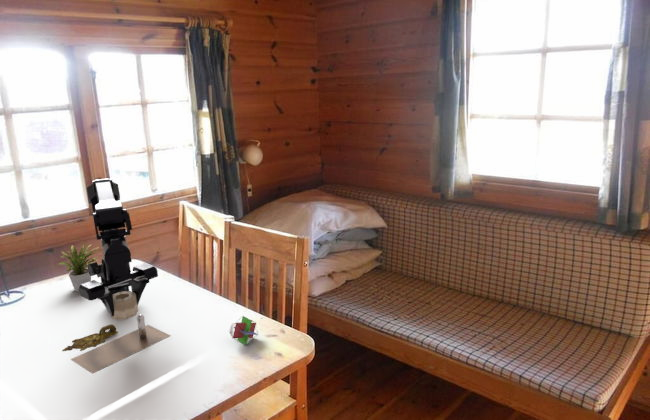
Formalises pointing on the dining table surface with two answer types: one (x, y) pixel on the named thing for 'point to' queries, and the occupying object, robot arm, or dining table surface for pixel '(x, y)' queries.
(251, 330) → the geometric puzzle
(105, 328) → the olive gold carved ornament
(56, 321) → the dining table surface
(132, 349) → the board
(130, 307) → the beech bead
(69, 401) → the dining table surface
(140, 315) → the steel post
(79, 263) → the house plant
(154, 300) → the dining table surface
